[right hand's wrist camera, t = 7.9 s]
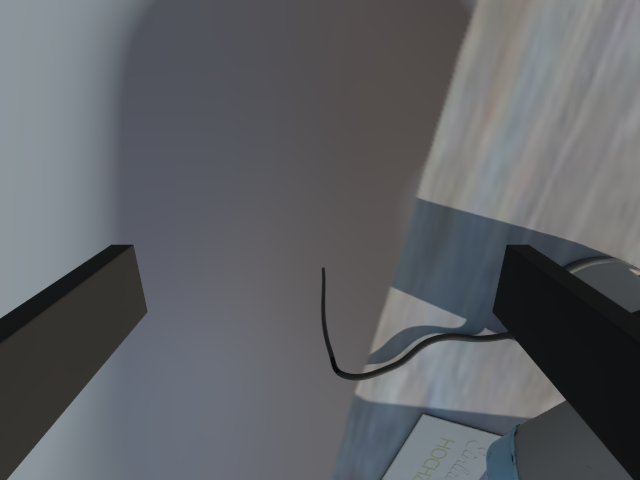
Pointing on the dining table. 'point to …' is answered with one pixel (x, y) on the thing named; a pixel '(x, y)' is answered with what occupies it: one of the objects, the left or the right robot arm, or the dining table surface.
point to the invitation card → (441, 452)
